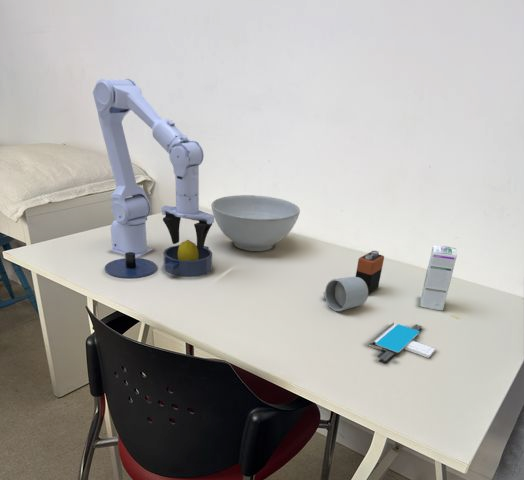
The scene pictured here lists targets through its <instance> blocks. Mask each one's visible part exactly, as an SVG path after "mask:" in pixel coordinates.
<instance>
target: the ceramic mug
mask: <svg viewBox="0 0 524 480" xmlns="http://www.w3.org/2000/svg"><path fill="white" fill-rule="evenodd" d="M322 294H323V299H325V301H326V304H327V306H328V307H329V308H330V309H331V310H333V311H335V312H342V311H345V310H349V309H352V308H356V307H360V306H362V305H363V304H364V303H366V301H367V300H368V298H369V294H368V286H367V284H366V282H365V281H364V280H363V279H361V278H359V277H356V276H348V277H341V278H333V279H331V280H330V281H328V282H327V284H326V287H325V290H324V291H323V293H322Z"/></svg>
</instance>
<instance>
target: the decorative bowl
mask: <svg viewBox="0 0 524 480" xmlns="http://www.w3.org/2000/svg"><path fill="white" fill-rule="evenodd" d="M211 211H212V215H214V221H215V222H216V224H217V226H218V227H219V229H220V230H221V232H222V233H223V235H224V236H225V237H226V238H227V239H228V240H230V241H232V242H233V244H234V246H235V247H237V248H238V249H241V250H244V251H248V252H249V251H250V252H265V251H268V250H271V249H273V248H274V245H275V244H277V243H279V242H281V241H282V240H283V239H285V238H286V237H287V236H288V235H289V233H290V232H291V231H292V229H294V227H295V225H296V223H297V221H298V219H299V216H300V214H301V209H300V207H299V206H298V205H296V204H295V203H293V202H291V201H288V200H285V199H283V198H282V199H281V198H278V197H273V196H266V195H257V194H255V195H253V194H239V195H238V194H237V195H227V196H222V197H219V198H216V199H214V200H213V201H212V202H211Z"/></svg>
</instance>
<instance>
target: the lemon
mask: <svg viewBox="0 0 524 480" xmlns="http://www.w3.org/2000/svg"><path fill="white" fill-rule="evenodd" d="M179 245H180V246H179V248H178V260H184V261H194V260H198V249H197V246H196V245H197V244H196V243H194V242H193V241H191V240H190V239H186V240H185V241H183V242H181V243H180V244H179Z"/></svg>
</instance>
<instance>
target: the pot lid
mask: <svg viewBox="0 0 524 480" xmlns="http://www.w3.org/2000/svg"><path fill="white" fill-rule="evenodd" d="M157 269H158V265H157V263H155V262H154V261H152V260H150V259H145V258H141V257H136V255H135V253H133V252H127V253H125V254H124V258H117V259H114V260H112V261H109V262H107V263H106V264H105V266H104V271H105V273H106V274H107V275H108V276H112V277H114V278H119V279H140V278H145V277H149V276H150V275H153V274H154V273H156V272H157Z"/></svg>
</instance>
